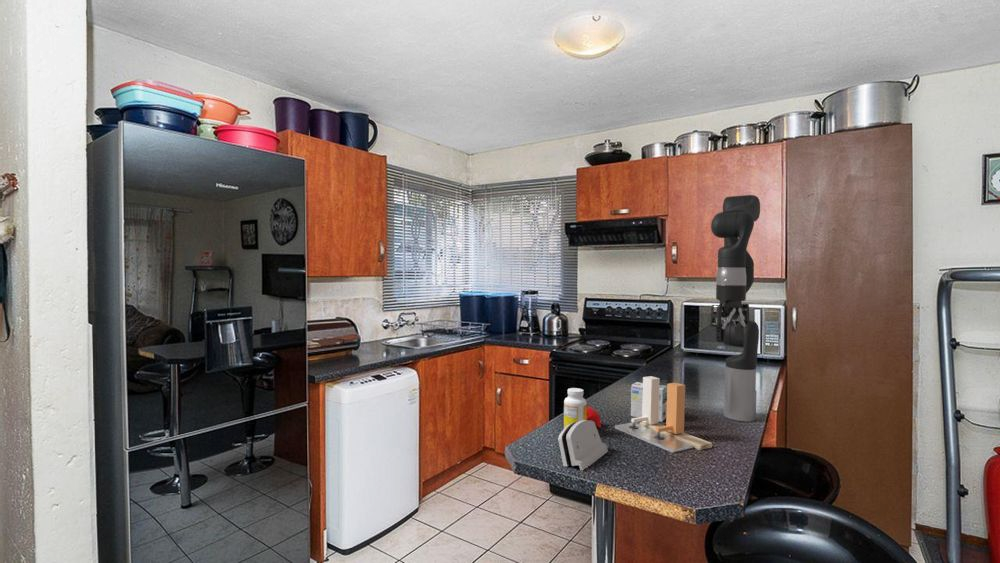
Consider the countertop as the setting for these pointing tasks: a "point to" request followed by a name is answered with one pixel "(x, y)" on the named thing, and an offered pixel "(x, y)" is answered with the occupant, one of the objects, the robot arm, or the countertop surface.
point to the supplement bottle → (574, 406)
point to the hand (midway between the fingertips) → (729, 341)
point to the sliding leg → (674, 409)
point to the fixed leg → (649, 401)
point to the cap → (593, 416)
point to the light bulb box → (638, 396)
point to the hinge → (581, 444)
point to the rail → (682, 437)
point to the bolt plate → (654, 437)
